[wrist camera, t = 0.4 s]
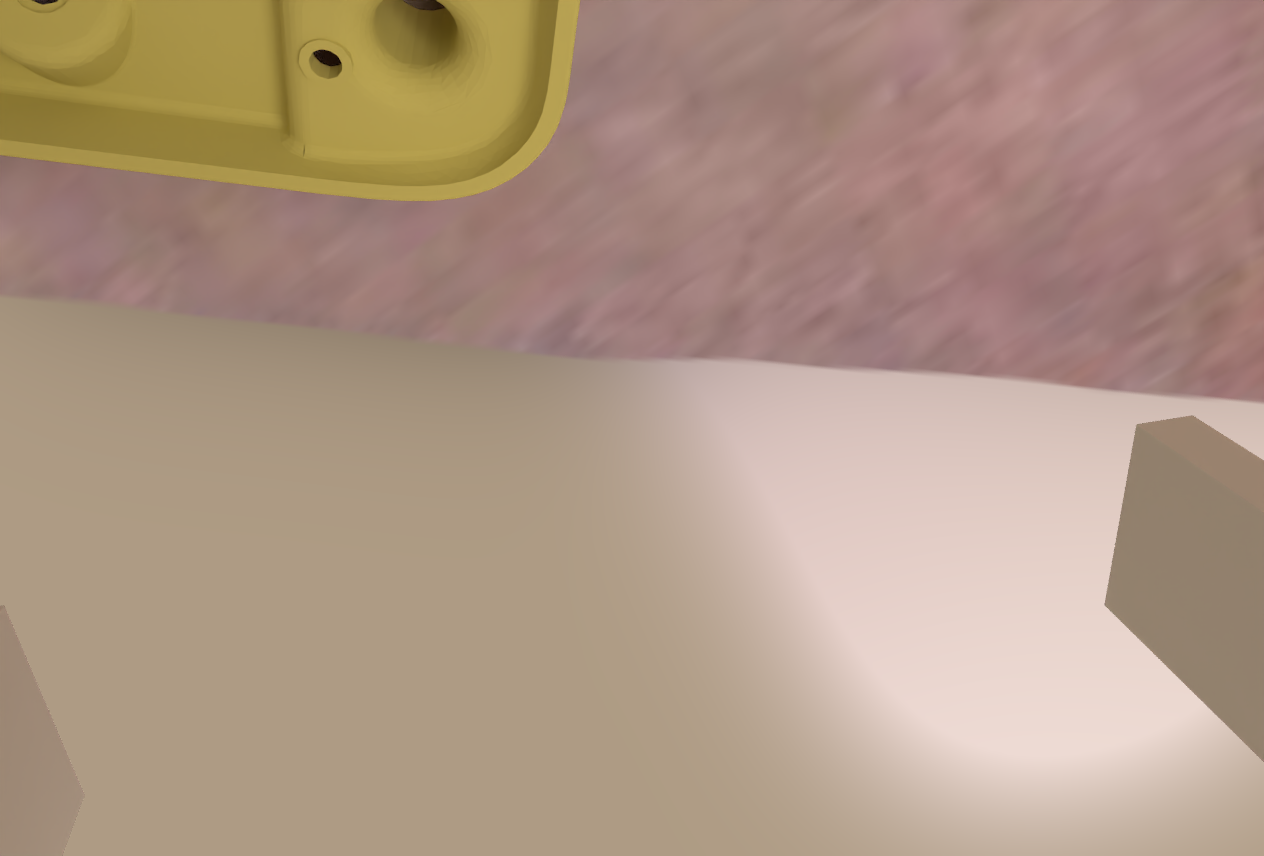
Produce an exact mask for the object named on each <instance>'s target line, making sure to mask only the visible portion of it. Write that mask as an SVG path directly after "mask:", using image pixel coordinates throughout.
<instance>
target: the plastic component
mask: <svg viewBox="0 0 1264 856" xmlns="http://www.w3.org/2000/svg"><path fill="white" fill-rule="evenodd" d="M436 1H438V2H439V3H441V4H442V5H443V6H445V8H443V9H439V10H434V11H430V10H418V9H416V8H414V7H412V6H410V5H408V4H407V3H405V2H404V1H403V0H58V1H57V2H54V3H49V4H45V5H42V4H39V3H37V2H35V1H34V0H0V155H4V156H12V157H21V158H29V159H37V160H45V161H54V162H62V163H70V164H79V165H87V166H95V167H103V168H112V169H120V170H128V171H136V172H145V173H153V174H161V175H170V176H178V177H186V178H194V179H203V180H211V181H219V182H227V183H236V184H244V185H252V186H261V187H269V188H277V189H285V190H294V191H302V192H310V193H318V194H328V195H338V196H348V197H358V198H368V199H381V200H398V201H435V200H446V199H456V198H460V197H465V196H470V195H475V194H478V193H481V192H484V191H487V190H490V189H493V188H495V187H497V186H499V185H500V184H502V183H504V182H506V181H508V180H510V179H512V178H513V177H515V176H516V175H517V174H519V173H520V172H521V171H523V170H524V169H526V168H527V167H528V166H529V165H530V164H531V163H532V162H533V161H534V160H535V159H536V158H537V157H538V156H539V155H540V153H541V152H542V151H543V150H544V148H545V147H546V146H547V145H548V143H549V142H550V140H551V138H552V136H553V134H554V132H555V130H556V129H557V127H558V124H559V121H560V118H561V115H562V112H563V109H564V106H565V102H566V97H567V92H568V86H569V79H570V73H571V65H572V57H573V49H574V41H575V33H576V26H577V19H578V12H579V5H580V0H436ZM321 49H323V50H328V51H331V52H333V53H334V54H336V55H337V56H338V57H339V59H340V61H341V64H340V65H337V66H331V67H330V66H327V65H324V64H322V63H320V62H319V61H318V60H317V59H316V58H315V57H314V54H313V52H314V51H317V50H321Z"/></svg>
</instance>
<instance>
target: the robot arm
mask: <svg viewBox="0 0 1264 856" xmlns="http://www.w3.org/2000/svg"><path fill="white" fill-rule="evenodd" d="M1105 606H1106V607H1107V608H1108V609H1109V610H1110V611H1111V612H1112V613H1113V614H1114V615H1115V616H1116V617H1117V618H1118V619H1119V620H1121V622H1122V623H1123V624H1124V625H1125V626H1126V627H1127V628H1129V630H1130V631H1131V632H1133V634H1135V635H1136V636H1137V637H1138V638H1139V639H1140V640H1141V641H1142V642H1143V643H1144V644H1145V645H1146V646H1147V647H1148V648H1149V649H1150V650H1151V651H1152V652H1153V653H1154V654H1155V655H1156V656H1157V657H1158V658H1159V659H1160V660H1161V661H1162V662H1163V663H1164V664H1165V665H1166V666H1167V667H1168V668H1169V669H1170V670H1171V671H1172V672H1173V673H1174V674H1175V675H1176V676H1177V677H1178V678H1179V679H1180V680H1181V681H1182V682H1183V683H1184V684H1185V685H1186V686H1187V687H1188V688H1189V689H1190V690H1191V691H1192V692H1194V694H1195V695H1197V697H1198V698H1200V699H1201V700H1202V701H1203V702H1204V703H1205V704H1206V705H1207V706H1208V707H1209V708H1210V709H1211V710H1212V711H1213V712H1214V713H1215V714H1216V715H1217V716H1218V717H1219V718H1220V719H1221V720H1222V721H1223V722H1224V723H1225V724H1226V725H1227V726H1228V727H1229V728H1230V729H1231V730H1232V731H1233V732H1234V733H1235V734H1236V735H1237V736H1238V737H1239V738H1240V739H1241V740H1242V741H1243V742H1244V743H1245V744H1246V745H1247V746H1248V747H1249V748H1250V749H1251V750H1252V751H1253V752H1254V753H1255V754H1256V755H1257V756H1258V757H1259V758H1260V759H1261V760H1262V761H1263V762H1264V460H1262V459H1260V458H1259V457H1257V456H1256V455H1254V454H1252V453H1251V452H1249V451H1248V450H1246V449H1244V448H1243V447H1241V446H1240V445H1238V444H1237V443H1235V442H1233V441H1232V440H1230V439H1229V438H1227V437H1226V436H1224V435H1223V434H1221V433H1219V432H1218V431H1216V430H1214V429H1213V428H1211V427H1210V426H1208V425H1207V424H1205V423H1204V422H1202V421H1200V420H1199V419H1197V418H1196V417H1194V416H1186V417H1180V418H1173V419H1167V420H1161V421H1155V422H1148V423H1142V424H1137V426H1136V431H1135V437H1134V442H1133V448H1132V453H1131V459H1130V465H1129V470H1128V476H1127V481H1126V487H1125V493H1124V498H1123V504H1122V510H1121V515H1120V521H1119V526H1118V532H1117V538H1116V543H1115V549H1114V555H1113V560H1112V566H1111V572H1110V578H1109V583H1108V589H1107V594H1106V600H1105ZM83 798H84V792H83V790H82V788H81V785H80V783H79V781H78V778H77V776H76V774H75V771H74V769H73V767H72V764H71V762H70V759H69V757H68V755H67V752H66V750H65V748H64V745H63V743H62V741H61V738H60V736H59V734H58V731H57V729H56V727H55V724H54V722H53V719H52V717H51V715H50V712H49V710H48V708H47V706H46V703H45V701H44V699H43V696H42V694H41V691H40V689H39V687H38V684H37V682H36V679H35V677H34V675H33V672H32V670H31V668H30V665H29V663H28V661H27V658H26V656H25V654H24V651H23V649H22V647H21V644H20V642H19V639H18V637H17V635H16V632H15V630H14V628H13V625H12V623H11V621H10V619H9V616H8V614H7V611H6V609H5V606H4V605H3V606H0V856H63V853H64V850H65V847H66V845H67V842H68V839H69V836H70V834H71V831H72V828H73V825H74V823H75V820H76V817H77V814H78V812H79V809H80V806H81V804H82V801H83Z"/></svg>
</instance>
